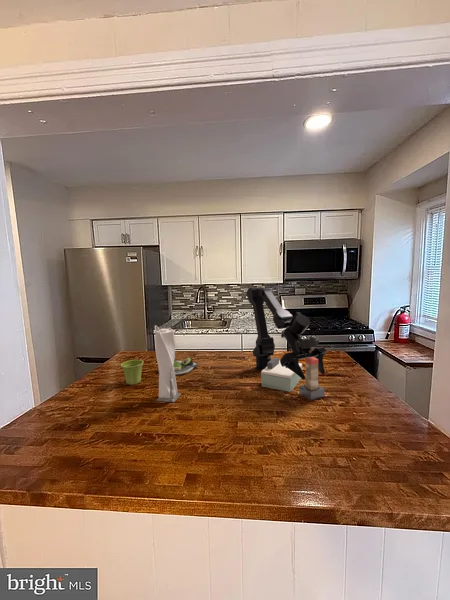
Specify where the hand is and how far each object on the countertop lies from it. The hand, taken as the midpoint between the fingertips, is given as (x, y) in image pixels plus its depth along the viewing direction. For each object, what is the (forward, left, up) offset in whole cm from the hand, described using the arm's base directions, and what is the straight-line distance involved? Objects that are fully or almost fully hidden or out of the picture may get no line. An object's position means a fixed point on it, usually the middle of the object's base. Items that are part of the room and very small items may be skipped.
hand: (314, 376), depth 105 cm
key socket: (-1, +1, -8) cm, 8 cm away
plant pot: (-73, -21, -8) cm, 77 cm away
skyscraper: (-49, -25, -8) cm, 56 cm away
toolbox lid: (-15, +8, -2) cm, 17 cm away
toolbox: (-15, +8, -8) cm, 19 cm away
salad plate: (-66, +1, -8) cm, 67 cm away
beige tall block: (-1, +1, -8) cm, 8 cm away
